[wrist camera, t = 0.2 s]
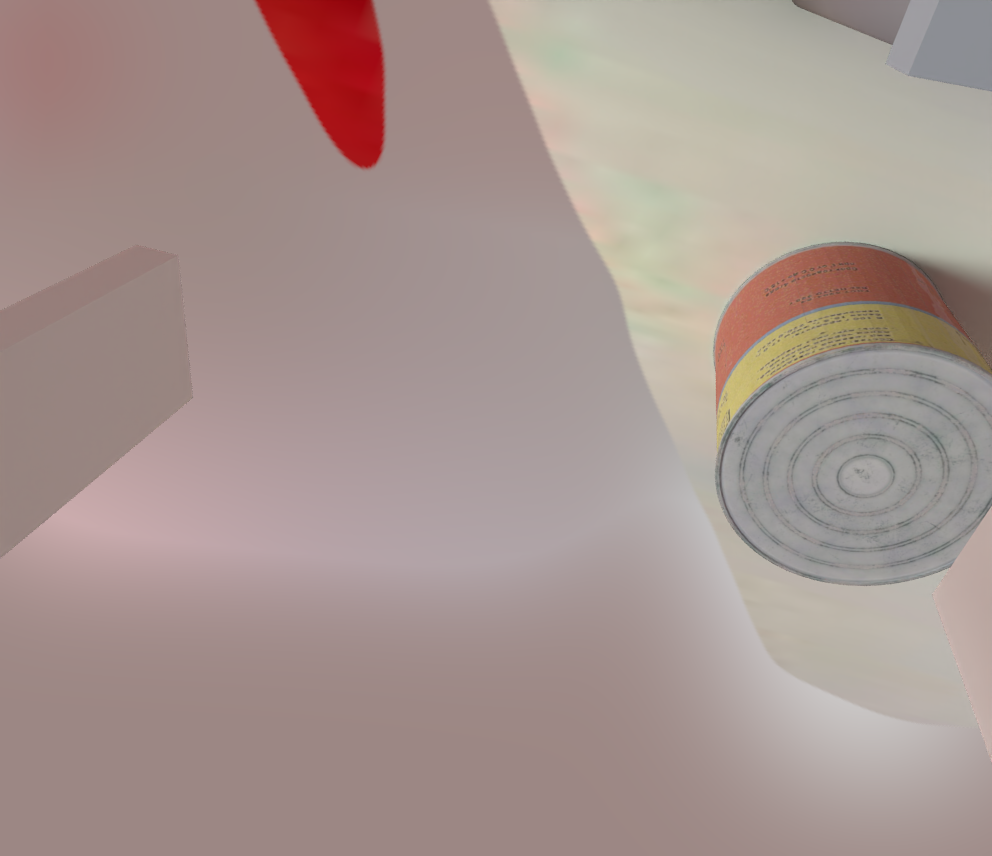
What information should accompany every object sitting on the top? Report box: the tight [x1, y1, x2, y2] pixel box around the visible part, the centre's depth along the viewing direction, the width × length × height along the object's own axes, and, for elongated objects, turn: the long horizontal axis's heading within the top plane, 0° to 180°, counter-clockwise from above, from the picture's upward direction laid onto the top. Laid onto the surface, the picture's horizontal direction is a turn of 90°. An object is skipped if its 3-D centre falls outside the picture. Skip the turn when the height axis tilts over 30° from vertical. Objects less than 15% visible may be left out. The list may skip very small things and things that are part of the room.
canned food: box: [713, 242, 992, 586], centre depth 34 cm, size 11×11×12 cm
